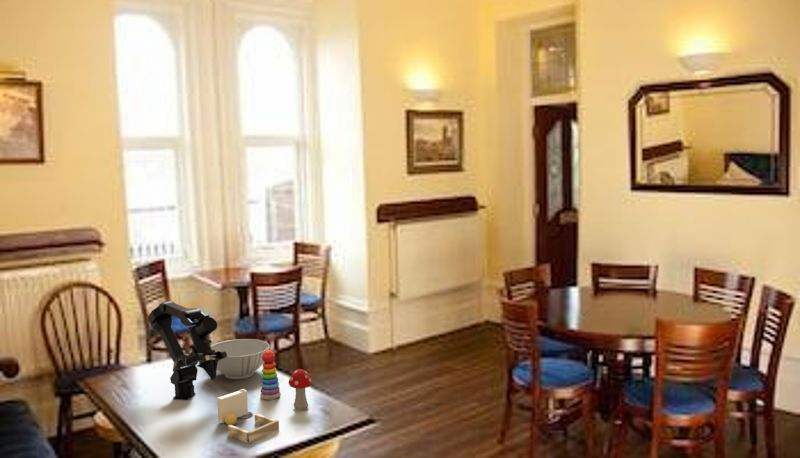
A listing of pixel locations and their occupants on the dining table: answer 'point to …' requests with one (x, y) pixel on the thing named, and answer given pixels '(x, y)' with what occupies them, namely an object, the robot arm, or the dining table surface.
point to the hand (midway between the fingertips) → (213, 379)
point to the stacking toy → (269, 377)
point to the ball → (230, 419)
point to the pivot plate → (246, 415)
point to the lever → (232, 405)
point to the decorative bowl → (241, 357)
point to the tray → (266, 429)
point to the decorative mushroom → (300, 388)
